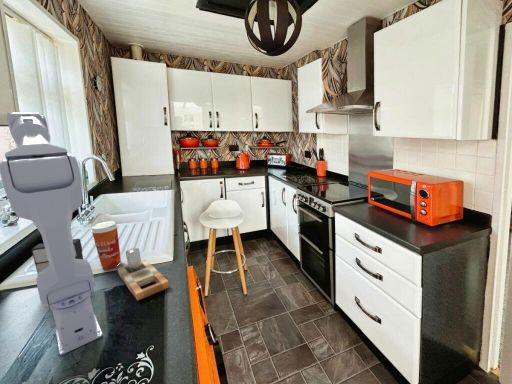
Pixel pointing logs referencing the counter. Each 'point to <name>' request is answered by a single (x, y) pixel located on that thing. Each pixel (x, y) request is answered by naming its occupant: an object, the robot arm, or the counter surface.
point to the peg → (133, 260)
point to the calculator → (42, 258)
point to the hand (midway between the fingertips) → (41, 183)
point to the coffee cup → (107, 243)
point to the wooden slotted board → (143, 280)
